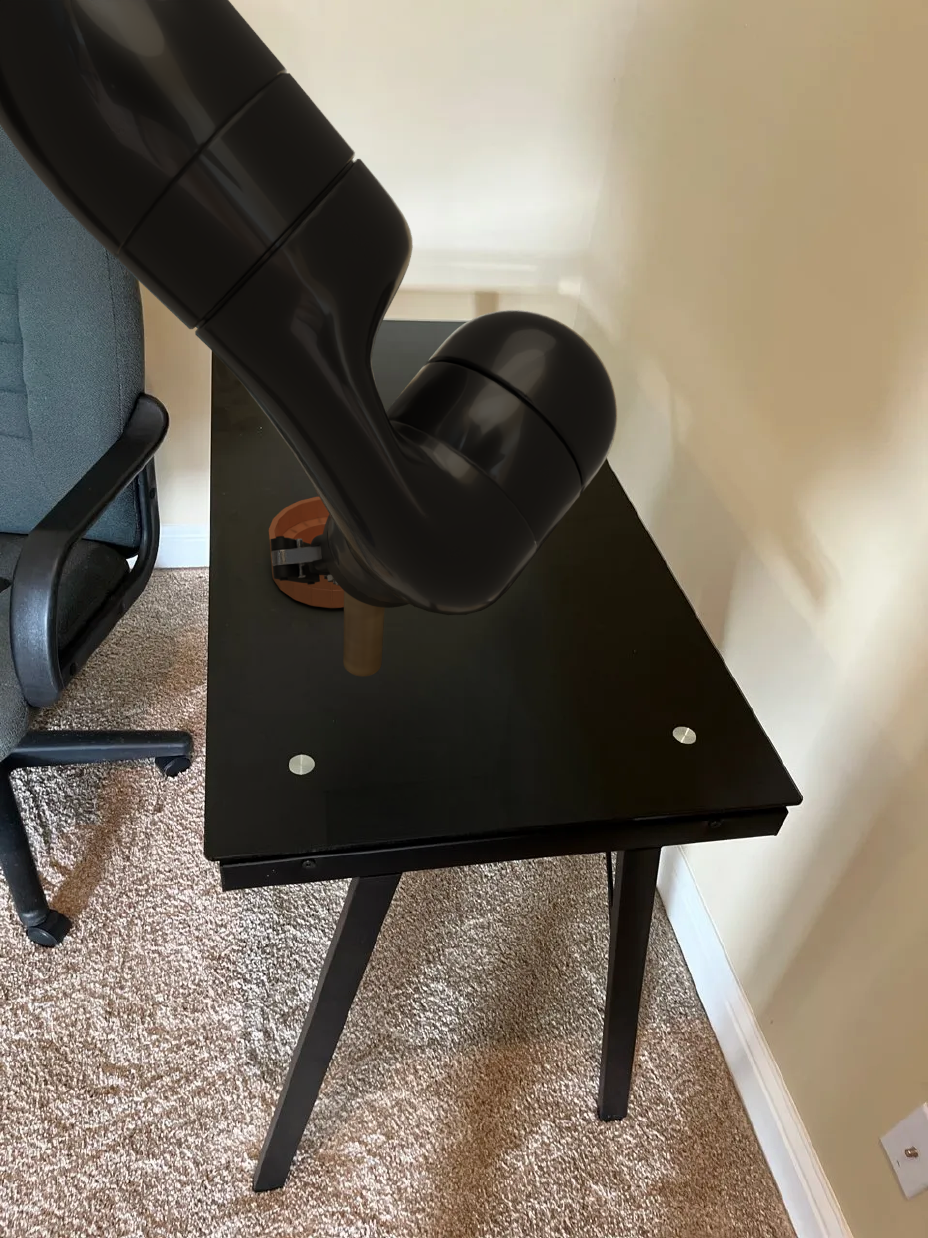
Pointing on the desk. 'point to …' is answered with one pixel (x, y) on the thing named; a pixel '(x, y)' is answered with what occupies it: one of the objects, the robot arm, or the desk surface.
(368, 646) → the stick
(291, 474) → the desk surface
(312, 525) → the bowl
